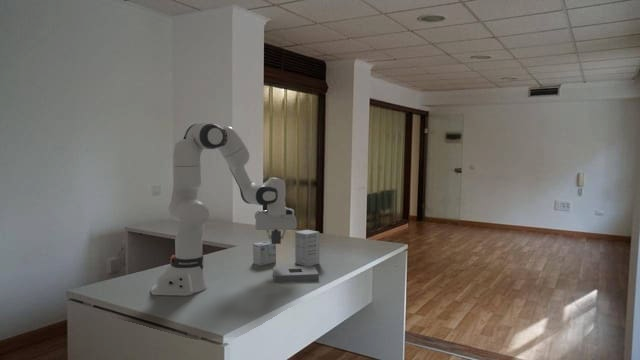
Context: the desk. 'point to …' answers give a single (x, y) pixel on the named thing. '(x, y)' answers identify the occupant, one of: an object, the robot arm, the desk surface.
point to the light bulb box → (264, 253)
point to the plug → (276, 237)
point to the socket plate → (295, 273)
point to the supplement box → (307, 247)
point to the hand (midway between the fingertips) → (275, 238)
